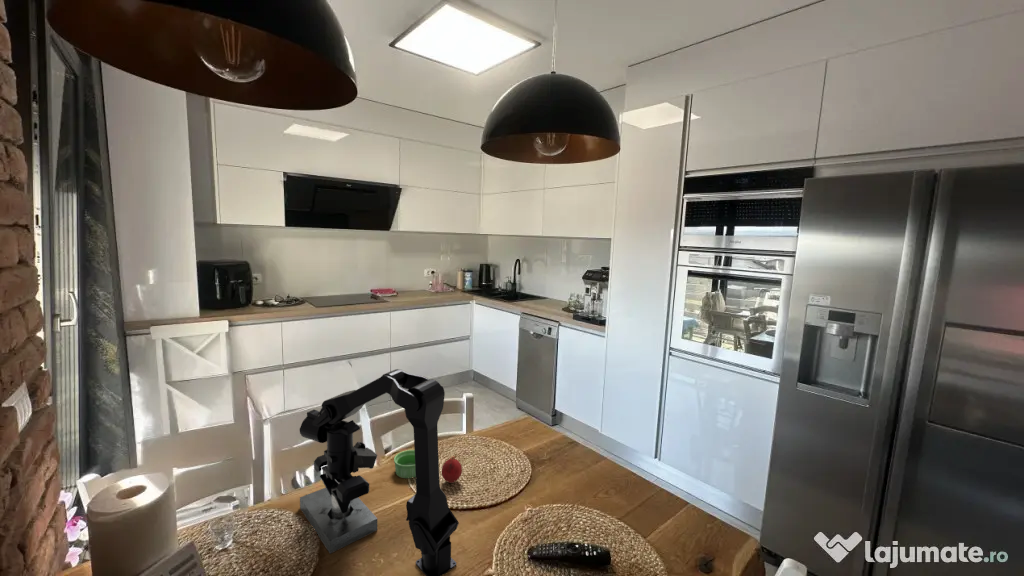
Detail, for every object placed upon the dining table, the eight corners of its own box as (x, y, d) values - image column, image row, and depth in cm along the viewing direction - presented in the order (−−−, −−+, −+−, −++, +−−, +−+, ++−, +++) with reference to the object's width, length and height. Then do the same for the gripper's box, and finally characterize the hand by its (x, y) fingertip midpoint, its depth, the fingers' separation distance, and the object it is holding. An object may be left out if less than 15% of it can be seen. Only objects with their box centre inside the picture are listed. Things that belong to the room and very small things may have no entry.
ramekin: (416, 459, 128) (416, 446, 127) (430, 473, 121) (430, 459, 120) (389, 469, 122) (389, 455, 121) (401, 483, 115) (401, 469, 115)
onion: (457, 490, 113) (458, 463, 112) (438, 487, 114) (438, 460, 113) (464, 478, 119) (465, 452, 118) (445, 475, 120) (446, 450, 119)
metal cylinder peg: (352, 517, 98) (352, 487, 97) (335, 525, 95) (335, 493, 94) (345, 509, 101) (345, 479, 100) (329, 516, 98) (328, 486, 97)
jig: (377, 530, 96) (377, 518, 96) (330, 553, 89) (329, 541, 88) (343, 490, 110) (343, 480, 110) (300, 508, 103) (299, 497, 102)
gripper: (390, 450, 95) (390, 512, 97) (356, 423, 108) (357, 478, 110) (342, 468, 87) (343, 534, 89) (312, 436, 100) (313, 494, 102)
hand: (340, 507), depth 98 cm, fingers closed on metal cylinder peg, 4 cm apart
